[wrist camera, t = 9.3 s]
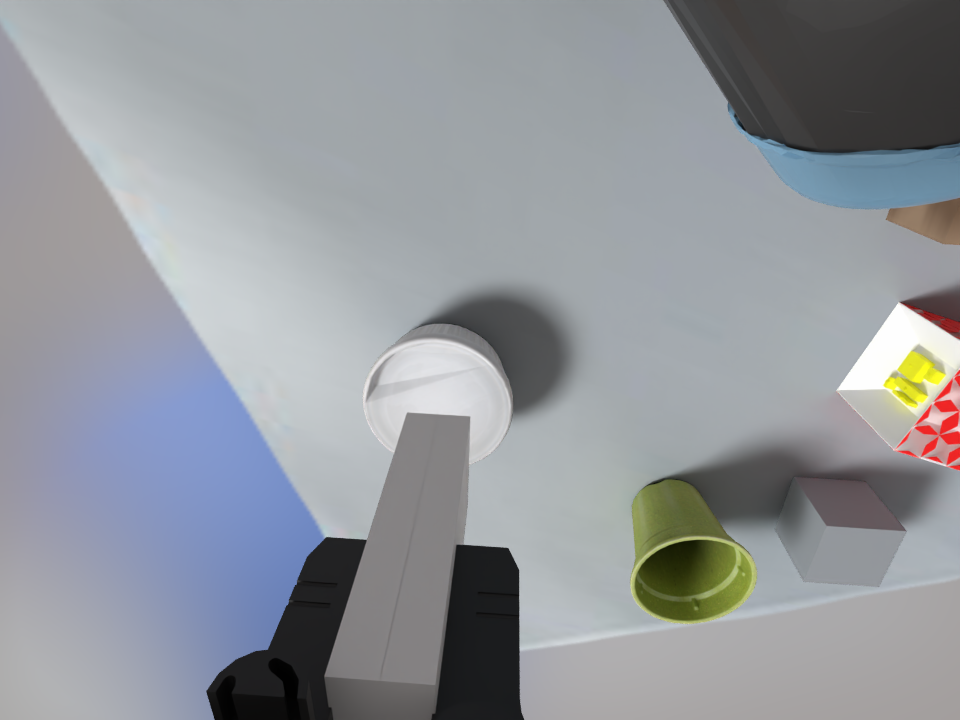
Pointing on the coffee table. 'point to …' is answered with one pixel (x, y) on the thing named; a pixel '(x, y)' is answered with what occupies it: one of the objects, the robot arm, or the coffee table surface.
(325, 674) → the robot arm
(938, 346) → the puzzle cube
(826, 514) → the slate grey block
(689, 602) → the plant pot
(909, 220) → the walnut block
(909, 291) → the coffee table surface
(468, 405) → the ramekin
